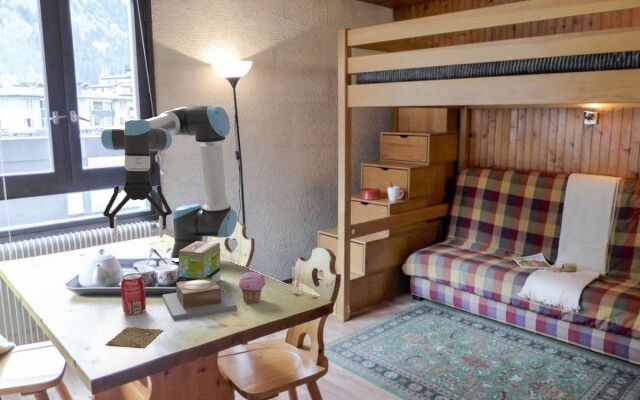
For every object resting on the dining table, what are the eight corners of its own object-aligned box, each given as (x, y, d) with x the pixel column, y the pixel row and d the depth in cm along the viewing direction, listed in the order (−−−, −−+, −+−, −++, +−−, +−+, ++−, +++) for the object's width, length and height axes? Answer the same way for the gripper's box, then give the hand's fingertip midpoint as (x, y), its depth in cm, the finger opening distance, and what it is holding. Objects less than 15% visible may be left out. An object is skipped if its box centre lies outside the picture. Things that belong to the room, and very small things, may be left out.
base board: (162, 298, 182) (162, 294, 181) (220, 290, 190) (220, 286, 190) (173, 320, 164) (173, 315, 164) (236, 309, 172) (236, 305, 172)
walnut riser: (176, 296, 179) (175, 281, 179) (212, 291, 184) (211, 276, 184) (183, 309, 169) (182, 293, 168) (221, 303, 174) (220, 287, 173)
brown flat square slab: (145, 350, 145) (144, 346, 145) (104, 346, 147) (103, 343, 147) (164, 331, 157) (164, 328, 156) (126, 328, 159) (126, 325, 158)
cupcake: (242, 296, 184) (241, 268, 182) (267, 296, 184) (266, 268, 182) (237, 305, 175) (236, 276, 174) (263, 306, 175) (262, 277, 173)
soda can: (136, 306, 175) (133, 271, 173) (151, 310, 172) (148, 274, 169) (118, 313, 169) (115, 277, 167) (133, 318, 166) (130, 281, 163)
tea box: (205, 292, 188) (203, 252, 185) (178, 290, 190) (176, 250, 187) (221, 279, 202) (220, 241, 200) (196, 277, 204) (195, 240, 202)
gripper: (94, 170, 157) (95, 241, 159) (180, 170, 167) (181, 237, 169) (93, 169, 164) (95, 237, 166) (177, 169, 174) (177, 234, 176)
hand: (138, 237), depth 167 cm, fingers open, 13 cm apart
